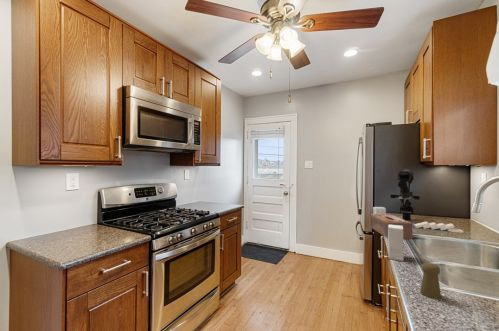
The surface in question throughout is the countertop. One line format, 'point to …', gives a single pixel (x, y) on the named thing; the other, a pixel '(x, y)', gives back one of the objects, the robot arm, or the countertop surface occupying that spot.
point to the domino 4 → (455, 230)
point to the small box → (379, 210)
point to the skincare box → (395, 242)
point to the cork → (430, 281)
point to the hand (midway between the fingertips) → (404, 207)
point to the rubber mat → (429, 229)
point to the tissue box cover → (383, 220)
